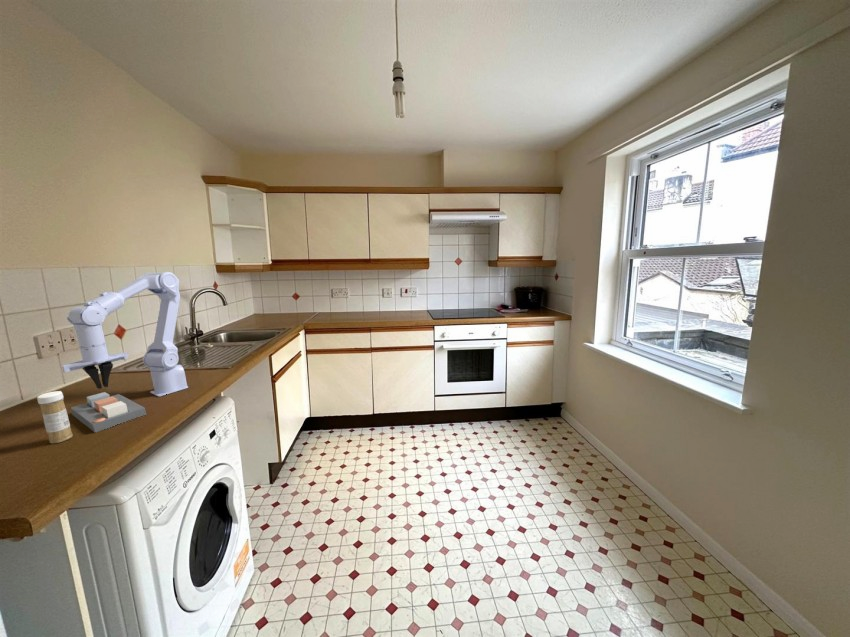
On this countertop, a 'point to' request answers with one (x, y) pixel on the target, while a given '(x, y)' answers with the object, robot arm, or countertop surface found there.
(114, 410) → the off-white button
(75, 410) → the console
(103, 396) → the grey button
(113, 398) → the terracotta button
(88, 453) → the countertop surface
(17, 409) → the countertop surface
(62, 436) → the spice jar
